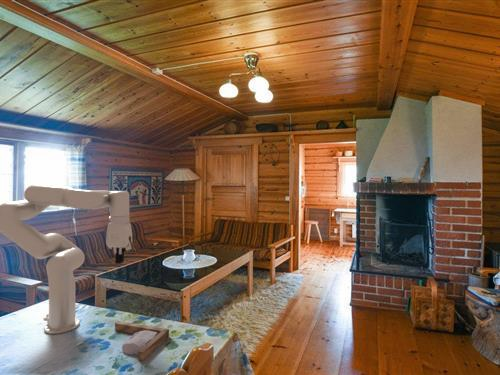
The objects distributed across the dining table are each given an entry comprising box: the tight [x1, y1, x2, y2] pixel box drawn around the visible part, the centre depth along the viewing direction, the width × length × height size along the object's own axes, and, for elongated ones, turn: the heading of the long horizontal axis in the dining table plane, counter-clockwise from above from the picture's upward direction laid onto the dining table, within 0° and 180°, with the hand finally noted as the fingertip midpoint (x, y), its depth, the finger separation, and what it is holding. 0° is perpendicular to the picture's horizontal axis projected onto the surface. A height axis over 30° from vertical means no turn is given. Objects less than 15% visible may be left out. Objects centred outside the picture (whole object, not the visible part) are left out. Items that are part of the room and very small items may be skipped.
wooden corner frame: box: [114, 320, 170, 362], centre depth 115 cm, size 24×17×3 cm
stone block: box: [121, 330, 158, 356], centre depth 114 cm, size 12×5×10 cm
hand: (119, 262), depth 129 cm, fingers closed
